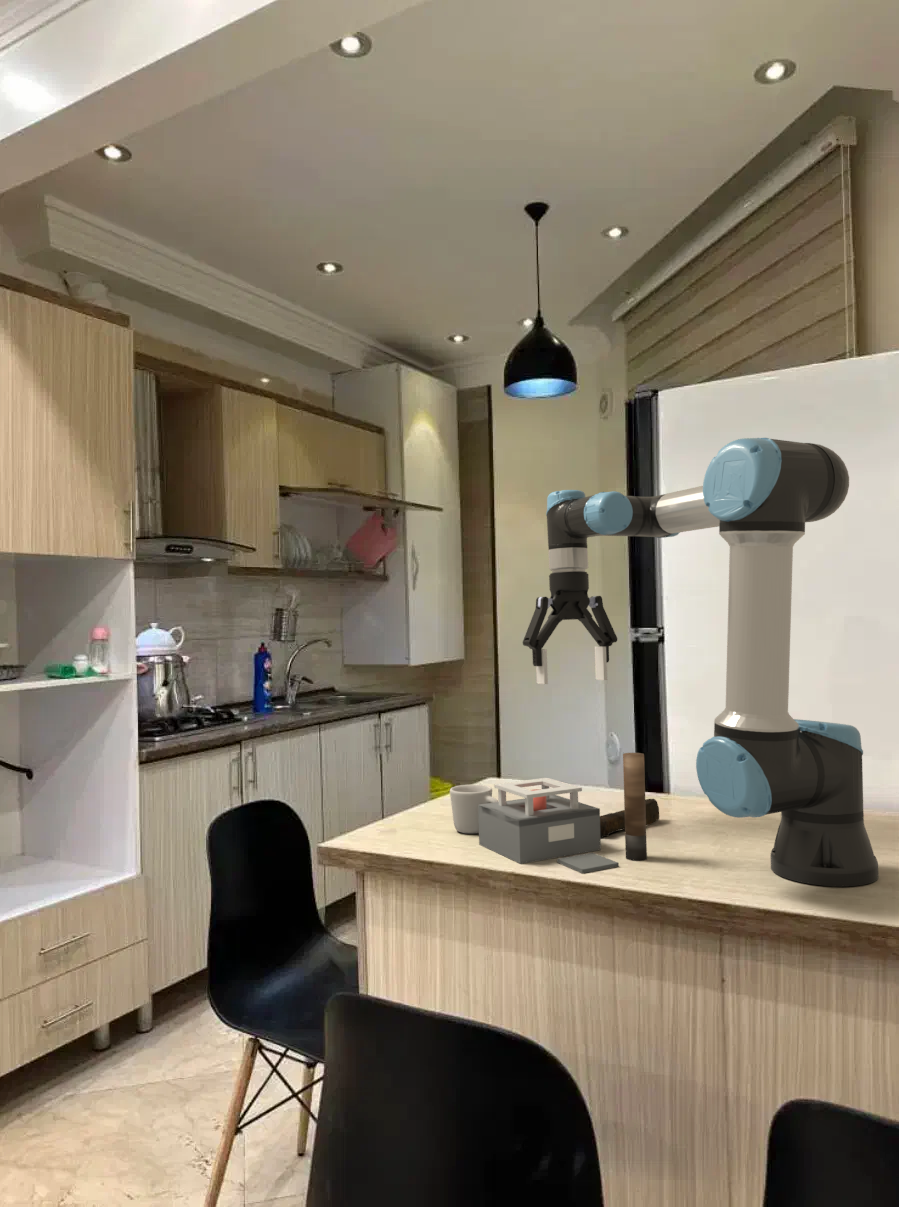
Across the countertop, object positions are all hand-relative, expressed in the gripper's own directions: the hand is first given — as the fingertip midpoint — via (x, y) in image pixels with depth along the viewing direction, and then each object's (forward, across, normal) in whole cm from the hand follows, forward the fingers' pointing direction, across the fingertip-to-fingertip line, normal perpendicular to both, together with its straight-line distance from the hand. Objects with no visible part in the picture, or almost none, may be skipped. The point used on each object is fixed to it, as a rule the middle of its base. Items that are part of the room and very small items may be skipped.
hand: (572, 682), depth 168 cm
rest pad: (+28, +14, +23) cm, 39 cm away
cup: (+27, +19, -5) cm, 34 cm away
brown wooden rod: (+28, +5, +24) cm, 37 cm away
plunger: (+25, +15, +10) cm, 31 cm away
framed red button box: (+27, +15, +10) cm, 33 cm away
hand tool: (+28, -6, +7) cm, 29 cm away
